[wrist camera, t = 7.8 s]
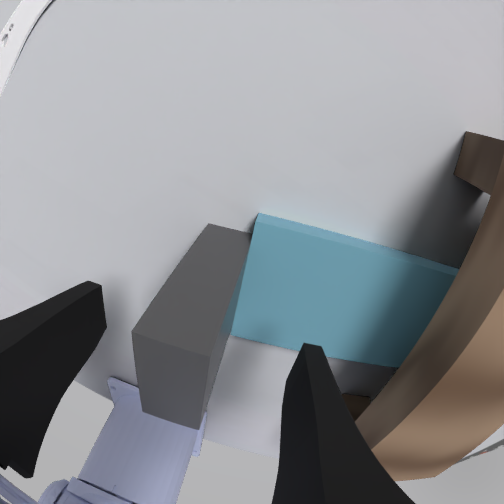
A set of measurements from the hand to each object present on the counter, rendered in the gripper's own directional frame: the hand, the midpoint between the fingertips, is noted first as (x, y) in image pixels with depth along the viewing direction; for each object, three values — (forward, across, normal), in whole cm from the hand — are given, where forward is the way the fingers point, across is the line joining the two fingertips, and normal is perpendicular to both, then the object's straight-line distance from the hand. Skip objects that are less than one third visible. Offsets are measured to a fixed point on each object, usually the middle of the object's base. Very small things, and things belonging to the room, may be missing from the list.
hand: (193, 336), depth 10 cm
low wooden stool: (+4, -12, 0) cm, 13 cm away
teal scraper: (+5, -11, 0) cm, 11 cm away
